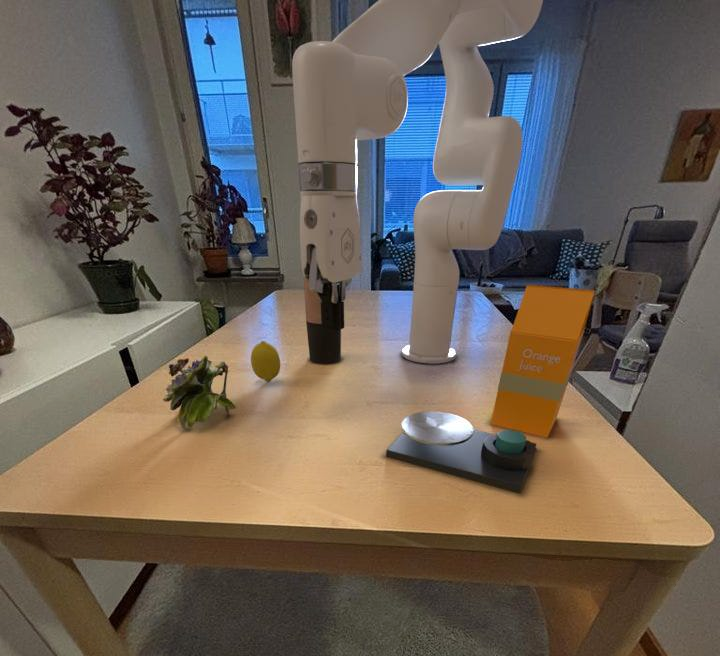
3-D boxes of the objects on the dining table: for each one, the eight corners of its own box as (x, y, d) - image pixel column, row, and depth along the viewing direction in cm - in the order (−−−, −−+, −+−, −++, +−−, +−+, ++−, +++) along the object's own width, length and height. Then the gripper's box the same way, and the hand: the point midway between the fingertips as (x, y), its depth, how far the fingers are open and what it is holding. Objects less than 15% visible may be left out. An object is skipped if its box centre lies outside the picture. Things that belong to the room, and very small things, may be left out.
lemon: (276, 388, 76) (271, 346, 71) (249, 386, 77) (242, 344, 72) (286, 378, 80) (282, 338, 76) (261, 376, 81) (255, 336, 77)
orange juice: (547, 438, 60) (592, 294, 48) (489, 424, 63) (518, 288, 52) (556, 419, 65) (598, 286, 54) (503, 407, 69) (532, 281, 58)
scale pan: (416, 408, 61) (417, 406, 61) (481, 422, 57) (481, 420, 57) (389, 435, 54) (390, 432, 54) (461, 453, 50) (461, 450, 50)
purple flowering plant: (197, 438, 70) (194, 372, 71) (252, 433, 68) (249, 364, 68) (149, 429, 59) (146, 351, 60) (213, 422, 57) (209, 340, 57)
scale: (417, 423, 64) (419, 406, 62) (536, 451, 56) (542, 432, 55) (385, 457, 55) (386, 438, 53) (521, 494, 48) (527, 474, 46)
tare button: (498, 439, 54) (500, 427, 53) (525, 445, 53) (528, 433, 52) (492, 450, 51) (494, 438, 50) (520, 457, 50) (524, 445, 49)
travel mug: (302, 361, 89) (294, 261, 78) (318, 352, 95) (313, 258, 84) (333, 366, 87) (329, 263, 76) (347, 356, 93) (345, 259, 81)
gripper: (323, 179, 45) (329, 343, 55) (377, 185, 56) (374, 321, 66) (270, 180, 47) (285, 337, 58) (331, 186, 58) (335, 317, 69)
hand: (333, 328), depth 62 cm, fingers closed
